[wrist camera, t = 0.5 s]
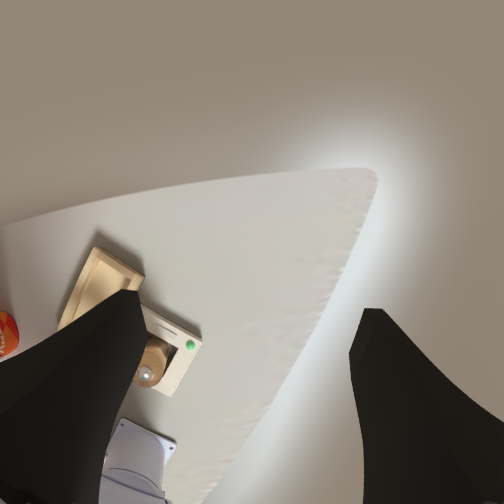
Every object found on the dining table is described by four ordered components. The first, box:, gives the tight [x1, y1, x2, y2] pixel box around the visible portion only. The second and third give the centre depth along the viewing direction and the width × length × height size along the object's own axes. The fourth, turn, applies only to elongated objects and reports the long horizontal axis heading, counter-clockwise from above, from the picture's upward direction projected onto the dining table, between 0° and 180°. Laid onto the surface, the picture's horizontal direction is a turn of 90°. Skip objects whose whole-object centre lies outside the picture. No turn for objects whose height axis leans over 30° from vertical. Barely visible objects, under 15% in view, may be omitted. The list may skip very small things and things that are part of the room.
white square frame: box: [141, 304, 202, 397], centre depth 29 cm, size 8×8×2 cm
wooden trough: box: [56, 247, 145, 332], centre depth 28 cm, size 12×6×2 cm, turn 150°
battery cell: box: [133, 337, 169, 387], centre depth 27 cm, size 3×3×8 cm
